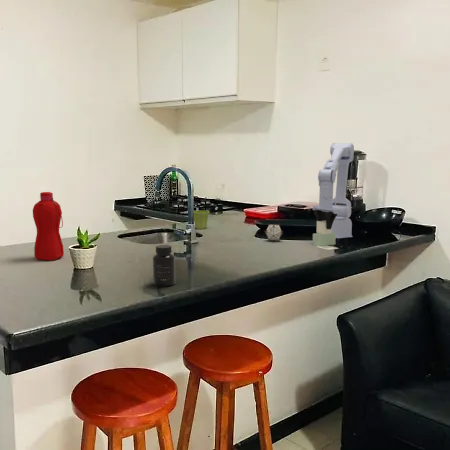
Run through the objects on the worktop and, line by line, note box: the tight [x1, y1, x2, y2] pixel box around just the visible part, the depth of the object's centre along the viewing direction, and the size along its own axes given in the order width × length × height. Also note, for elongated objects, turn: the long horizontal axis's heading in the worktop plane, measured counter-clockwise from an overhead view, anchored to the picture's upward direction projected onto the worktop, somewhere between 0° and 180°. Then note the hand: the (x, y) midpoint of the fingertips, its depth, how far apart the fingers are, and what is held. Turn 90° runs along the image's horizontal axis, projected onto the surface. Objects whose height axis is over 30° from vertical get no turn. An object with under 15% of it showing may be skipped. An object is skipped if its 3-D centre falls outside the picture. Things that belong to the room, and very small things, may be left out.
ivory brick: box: [315, 220, 332, 234], centre depth 221 cm, size 4×4×5 cm
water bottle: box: [32, 191, 65, 261], centre depth 190 cm, size 9×11×25 cm
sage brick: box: [312, 233, 336, 246], centre depth 223 cm, size 9×4×5 cm, turn 121°
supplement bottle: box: [152, 244, 176, 287], centre depth 158 cm, size 7×7×12 cm
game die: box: [264, 222, 284, 242], centre depth 230 cm, size 9×8×10 cm
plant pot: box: [193, 210, 210, 230], centre depth 263 cm, size 9×9×9 cm
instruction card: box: [314, 245, 339, 251], centre depth 217 cm, size 6×8×1 cm
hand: (324, 228), depth 222 cm, fingers closed on ivory brick, 4 cm apart
